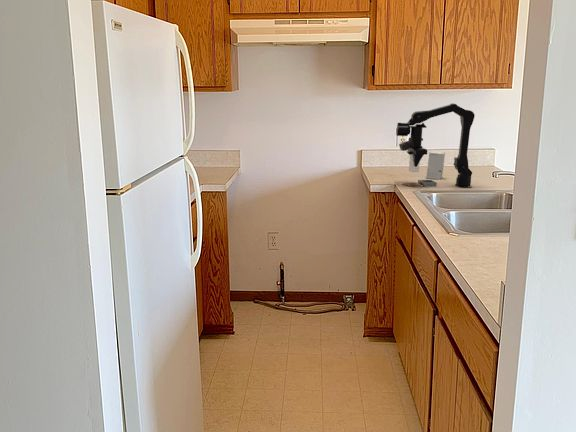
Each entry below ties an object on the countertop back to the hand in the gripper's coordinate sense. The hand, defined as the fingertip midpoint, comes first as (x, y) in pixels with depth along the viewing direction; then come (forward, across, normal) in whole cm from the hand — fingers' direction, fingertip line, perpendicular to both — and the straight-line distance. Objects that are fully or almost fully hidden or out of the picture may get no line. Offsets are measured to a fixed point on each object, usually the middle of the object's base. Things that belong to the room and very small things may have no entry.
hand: (414, 165), depth 296 cm
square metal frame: (+10, 0, +8) cm, 13 cm away
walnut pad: (+10, 0, 0) cm, 10 cm away
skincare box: (+11, -18, +20) cm, 29 cm away
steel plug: (+3, 0, 0) cm, 3 cm away
